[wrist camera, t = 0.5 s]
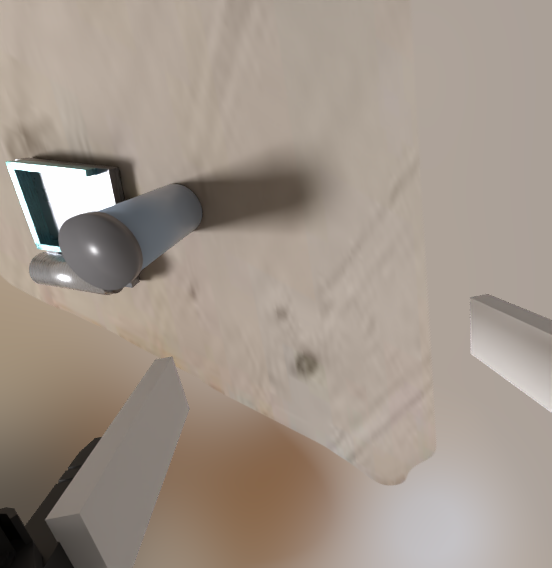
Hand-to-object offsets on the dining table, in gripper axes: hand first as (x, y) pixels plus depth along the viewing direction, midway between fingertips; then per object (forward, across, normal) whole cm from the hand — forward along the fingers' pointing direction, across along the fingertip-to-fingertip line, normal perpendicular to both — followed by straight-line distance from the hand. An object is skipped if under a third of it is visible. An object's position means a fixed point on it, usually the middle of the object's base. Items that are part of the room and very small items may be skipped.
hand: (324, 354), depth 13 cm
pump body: (+20, -10, +8) cm, 24 cm away
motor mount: (+23, -21, +8) cm, 32 cm away
